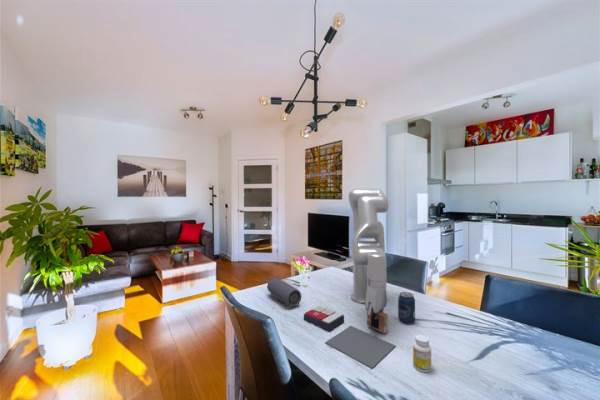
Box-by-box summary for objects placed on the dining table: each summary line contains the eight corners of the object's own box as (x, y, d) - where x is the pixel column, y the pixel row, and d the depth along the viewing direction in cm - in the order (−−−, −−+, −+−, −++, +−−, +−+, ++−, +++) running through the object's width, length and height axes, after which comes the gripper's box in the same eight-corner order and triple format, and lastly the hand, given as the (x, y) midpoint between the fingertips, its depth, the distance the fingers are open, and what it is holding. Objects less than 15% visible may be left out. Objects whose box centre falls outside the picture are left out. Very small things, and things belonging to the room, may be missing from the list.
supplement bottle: (429, 375, 77) (429, 345, 77) (411, 367, 80) (410, 338, 80) (433, 366, 81) (433, 337, 81) (415, 359, 85) (415, 331, 84)
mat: (350, 326, 106) (350, 325, 106) (395, 346, 92) (395, 345, 92) (325, 343, 95) (325, 342, 95) (372, 369, 80) (372, 367, 80)
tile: (370, 323, 107) (369, 307, 106) (387, 330, 101) (387, 314, 101) (366, 325, 105) (366, 309, 105) (384, 333, 99) (384, 316, 99)
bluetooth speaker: (302, 306, 127) (302, 286, 127) (287, 311, 121) (286, 291, 121) (280, 292, 146) (280, 275, 145) (266, 296, 140) (266, 278, 140)
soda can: (395, 321, 110) (395, 294, 110) (401, 315, 115) (401, 290, 115) (412, 326, 105) (411, 299, 105) (417, 320, 111) (417, 294, 110)
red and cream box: (318, 304, 121) (344, 313, 110) (319, 313, 120) (344, 323, 110) (303, 312, 113) (328, 322, 102) (303, 321, 113) (329, 332, 102)
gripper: (378, 275, 110) (378, 315, 111) (358, 285, 99) (358, 330, 100) (394, 279, 105) (394, 321, 106) (375, 290, 94) (375, 337, 94)
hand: (376, 325), depth 103 cm, fingers closed on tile, 2 cm apart
